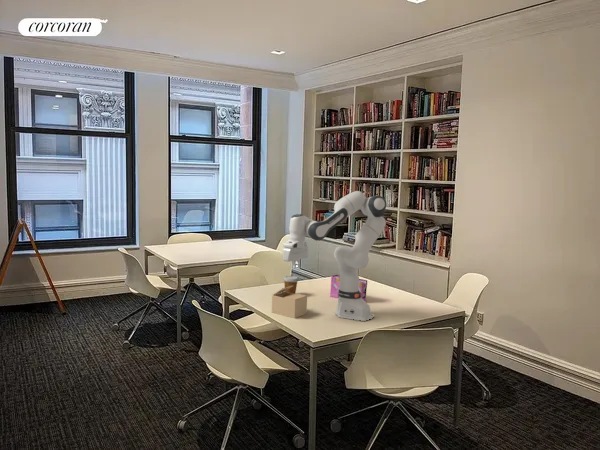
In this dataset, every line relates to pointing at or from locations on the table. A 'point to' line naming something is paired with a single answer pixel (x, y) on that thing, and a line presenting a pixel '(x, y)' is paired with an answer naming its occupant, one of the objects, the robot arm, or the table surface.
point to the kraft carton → (289, 304)
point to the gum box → (336, 283)
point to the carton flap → (282, 290)
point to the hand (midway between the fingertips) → (295, 267)
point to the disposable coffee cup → (290, 283)
